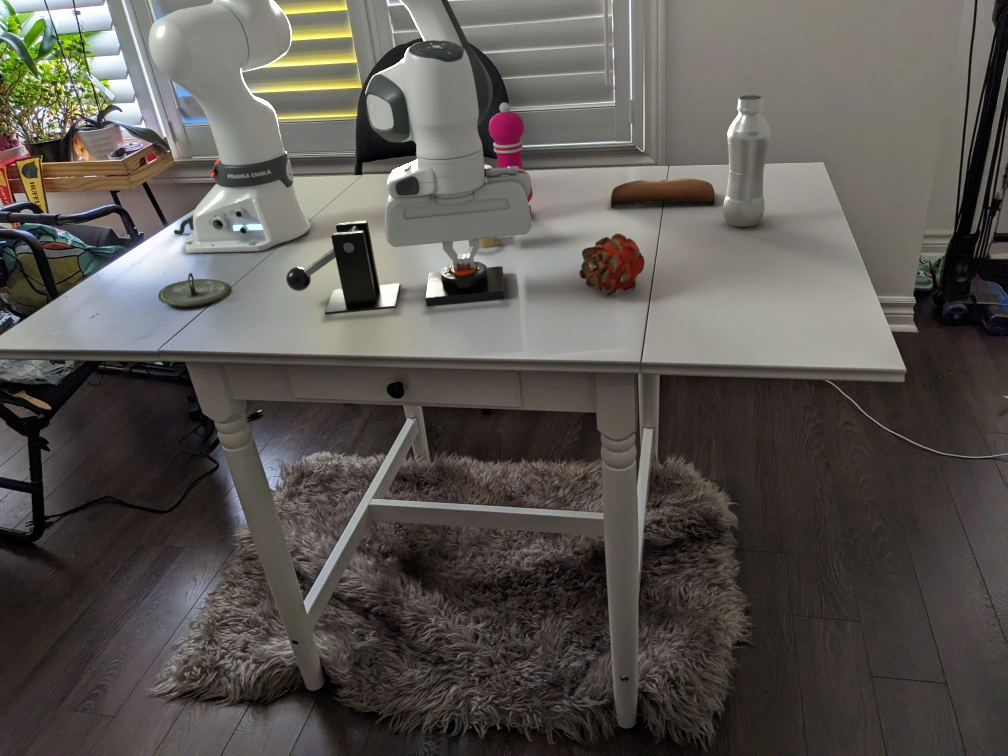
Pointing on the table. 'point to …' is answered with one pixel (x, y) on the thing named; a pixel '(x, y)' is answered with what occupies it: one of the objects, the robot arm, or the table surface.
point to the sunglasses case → (662, 191)
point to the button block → (465, 286)
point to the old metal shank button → (193, 292)
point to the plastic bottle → (746, 163)
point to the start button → (463, 271)
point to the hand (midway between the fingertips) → (464, 268)
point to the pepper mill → (508, 139)
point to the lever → (309, 270)
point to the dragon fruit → (612, 264)
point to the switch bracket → (358, 273)
